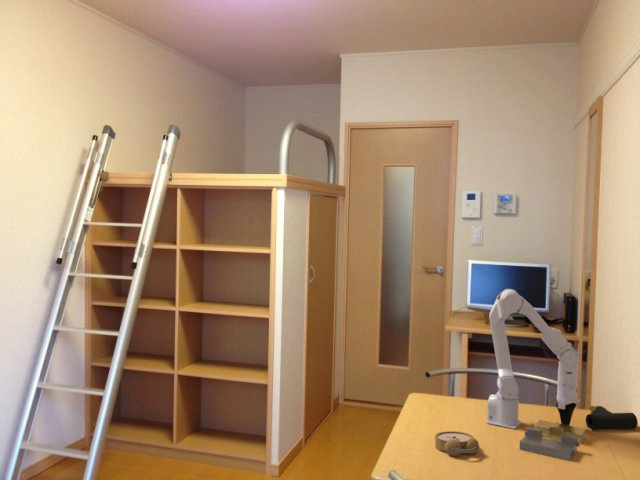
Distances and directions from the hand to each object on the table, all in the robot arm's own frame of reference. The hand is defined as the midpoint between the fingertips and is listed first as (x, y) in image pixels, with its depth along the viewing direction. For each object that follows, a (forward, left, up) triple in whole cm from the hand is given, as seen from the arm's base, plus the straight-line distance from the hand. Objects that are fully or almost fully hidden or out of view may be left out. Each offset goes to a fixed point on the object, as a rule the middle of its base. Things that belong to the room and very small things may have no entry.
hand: (565, 425), depth 199 cm
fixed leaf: (0, -22, -1) cm, 22 cm away
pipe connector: (+10, +12, -2) cm, 16 cm away
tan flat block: (0, -9, -1) cm, 9 cm away
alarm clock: (-22, -38, -2) cm, 44 cm away
